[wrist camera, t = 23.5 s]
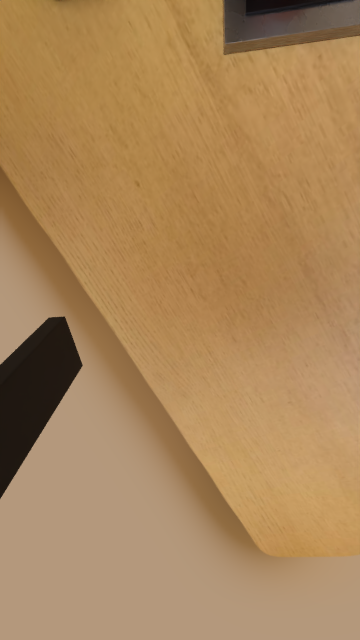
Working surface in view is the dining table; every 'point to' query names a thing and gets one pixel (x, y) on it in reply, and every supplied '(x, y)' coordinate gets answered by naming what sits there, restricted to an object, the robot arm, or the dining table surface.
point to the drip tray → (286, 22)
